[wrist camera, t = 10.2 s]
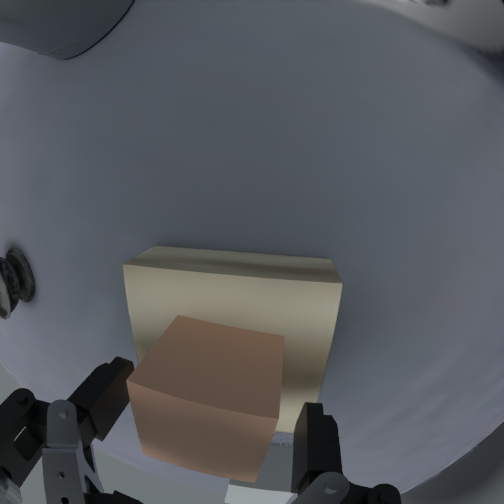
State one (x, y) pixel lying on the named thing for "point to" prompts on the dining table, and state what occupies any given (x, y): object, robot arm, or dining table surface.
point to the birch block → (242, 306)
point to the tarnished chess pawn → (14, 282)
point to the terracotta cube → (209, 397)
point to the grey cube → (266, 480)
